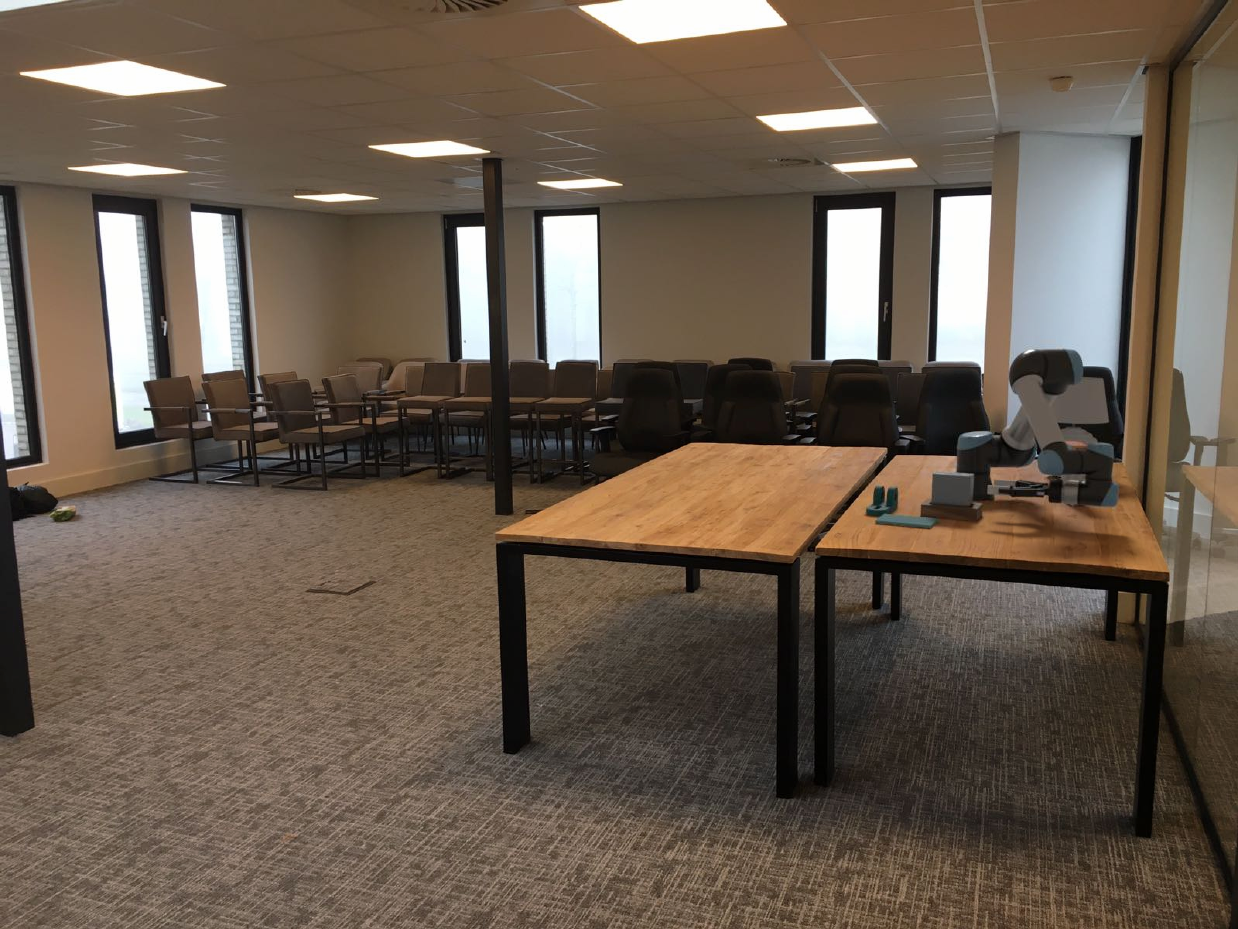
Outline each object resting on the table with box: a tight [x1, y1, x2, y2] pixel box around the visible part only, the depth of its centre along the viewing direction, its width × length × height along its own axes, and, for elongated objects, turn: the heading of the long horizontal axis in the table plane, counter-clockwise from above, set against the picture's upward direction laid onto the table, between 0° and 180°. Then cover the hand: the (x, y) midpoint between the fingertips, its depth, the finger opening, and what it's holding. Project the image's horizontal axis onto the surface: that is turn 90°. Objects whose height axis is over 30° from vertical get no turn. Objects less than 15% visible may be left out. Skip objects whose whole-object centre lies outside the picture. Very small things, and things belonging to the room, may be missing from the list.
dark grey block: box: [930, 470, 974, 508], centre depth 326 cm, size 6×12×14 cm, turn 62°
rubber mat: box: [874, 513, 939, 529], centre depth 316 cm, size 12×17×1 cm
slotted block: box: [919, 498, 983, 522], centre depth 326 cm, size 12×18×4 cm, turn 62°
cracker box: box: [1060, 441, 1087, 506], centre depth 348 cm, size 14×6×21 cm, turn 168°
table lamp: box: [1051, 376, 1110, 478], centre depth 400 cm, size 25×25×40 cm
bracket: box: [865, 485, 899, 517], centre depth 334 cm, size 18×7×8 cm, turn 151°
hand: (990, 486), depth 319 cm, fingers open, 13 cm apart
